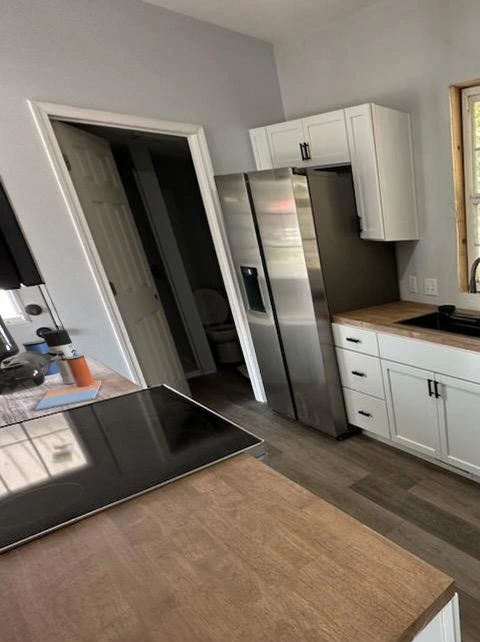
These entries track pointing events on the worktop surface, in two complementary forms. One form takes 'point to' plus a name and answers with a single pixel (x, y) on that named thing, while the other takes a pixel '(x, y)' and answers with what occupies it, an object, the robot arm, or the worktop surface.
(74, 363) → the terracotta canister
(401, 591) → the worktop surface
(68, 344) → the spray can
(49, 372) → the blue canister
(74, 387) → the sorting board
